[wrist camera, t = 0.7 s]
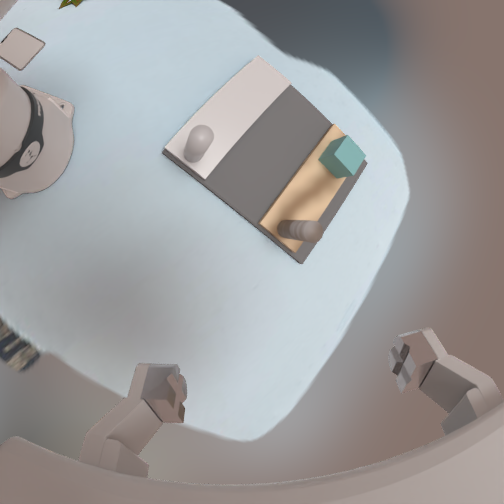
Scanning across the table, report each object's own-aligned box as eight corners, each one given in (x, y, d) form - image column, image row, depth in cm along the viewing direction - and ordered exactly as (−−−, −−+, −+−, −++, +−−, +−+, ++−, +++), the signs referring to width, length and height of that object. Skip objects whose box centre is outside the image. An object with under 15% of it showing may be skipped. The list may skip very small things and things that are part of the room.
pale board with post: (164, 148, 38) (165, 128, 29) (256, 57, 41) (277, 28, 31) (204, 179, 41) (216, 168, 32) (289, 84, 43) (316, 61, 34)
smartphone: (20, 71, 27) (-8, 52, 22) (22, 73, 28) (-7, 53, 23) (47, 43, 28) (15, 26, 23) (48, 44, 29) (16, 28, 24)
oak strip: (258, 223, 44) (284, 225, 35) (331, 125, 47) (365, 110, 37) (292, 252, 47) (324, 260, 38) (358, 154, 49) (394, 145, 40)
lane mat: (162, 153, 40) (162, 151, 39) (255, 59, 42) (257, 57, 41) (299, 263, 49) (302, 264, 48) (364, 163, 52) (367, 163, 51)
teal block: (317, 159, 45) (334, 154, 41) (331, 141, 46) (347, 134, 41) (336, 178, 47) (353, 175, 42) (349, 159, 48) (366, 155, 43)
